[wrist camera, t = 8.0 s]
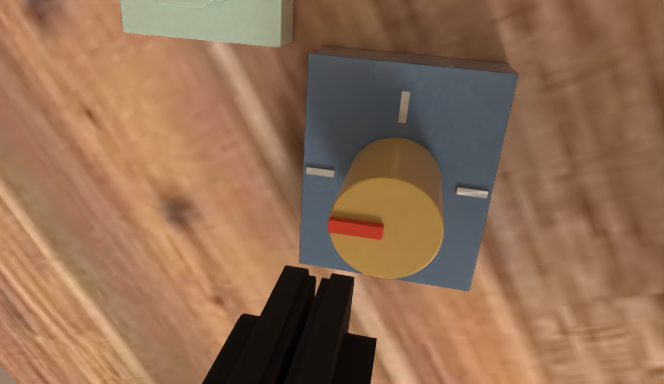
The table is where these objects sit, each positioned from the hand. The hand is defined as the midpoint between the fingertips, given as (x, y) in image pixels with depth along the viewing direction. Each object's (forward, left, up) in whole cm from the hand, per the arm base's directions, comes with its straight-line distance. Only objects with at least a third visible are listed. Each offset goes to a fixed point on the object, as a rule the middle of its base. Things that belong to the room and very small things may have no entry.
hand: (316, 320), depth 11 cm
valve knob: (-1, -1, -12) cm, 12 cm away
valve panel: (-1, -1, -15) cm, 15 cm away
